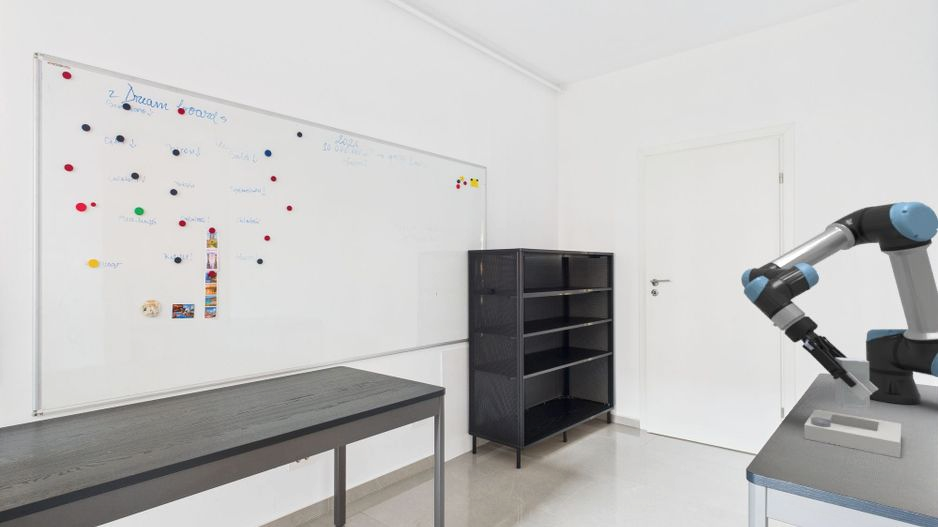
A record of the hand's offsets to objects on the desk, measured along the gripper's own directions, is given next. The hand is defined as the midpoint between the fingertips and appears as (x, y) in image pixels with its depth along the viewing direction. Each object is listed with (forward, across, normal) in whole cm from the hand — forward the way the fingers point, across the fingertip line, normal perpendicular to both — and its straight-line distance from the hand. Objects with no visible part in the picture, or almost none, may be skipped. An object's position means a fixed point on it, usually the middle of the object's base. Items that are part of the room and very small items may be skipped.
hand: (870, 394), depth 120 cm
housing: (+6, +2, -10) cm, 12 cm away
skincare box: (0, 0, -5) cm, 5 cm away
